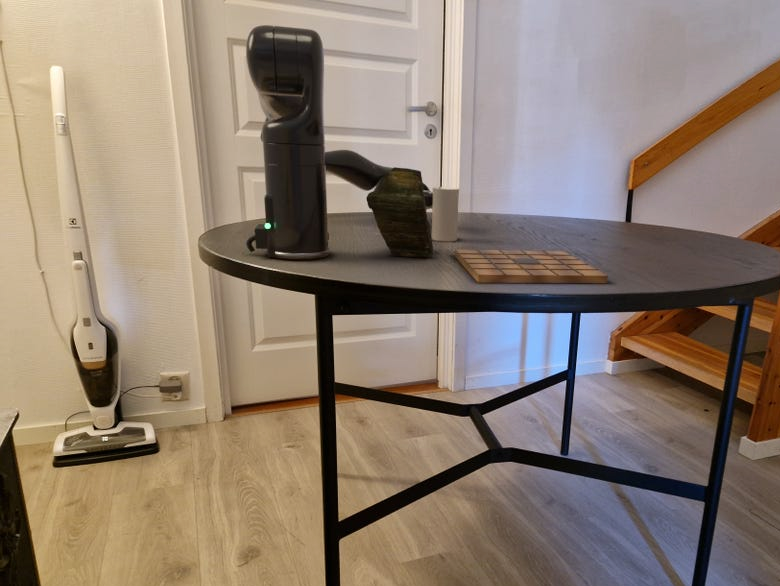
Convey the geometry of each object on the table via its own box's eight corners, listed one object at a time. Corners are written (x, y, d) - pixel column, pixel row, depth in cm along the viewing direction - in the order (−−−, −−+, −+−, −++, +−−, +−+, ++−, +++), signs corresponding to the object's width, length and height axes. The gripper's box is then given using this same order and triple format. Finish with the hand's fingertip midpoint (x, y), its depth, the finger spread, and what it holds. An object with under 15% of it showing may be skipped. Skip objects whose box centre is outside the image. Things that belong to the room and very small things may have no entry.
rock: (432, 262, 101) (418, 168, 95) (377, 269, 101) (360, 174, 96) (436, 246, 112) (424, 161, 107) (387, 252, 113) (373, 167, 107)
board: (478, 282, 89) (478, 273, 89) (454, 256, 107) (454, 248, 107) (606, 283, 93) (607, 274, 93) (563, 257, 112) (563, 250, 111)
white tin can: (433, 241, 121) (434, 188, 118) (429, 236, 126) (431, 186, 122) (459, 241, 122) (461, 189, 119) (454, 237, 127) (456, 187, 123)
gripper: (438, 212, 146) (464, 222, 132) (379, 212, 140) (400, 222, 126) (439, 179, 143) (465, 186, 129) (379, 178, 138) (400, 184, 124)
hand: (433, 204), depth 128 cm, fingers open, 8 cm apart
